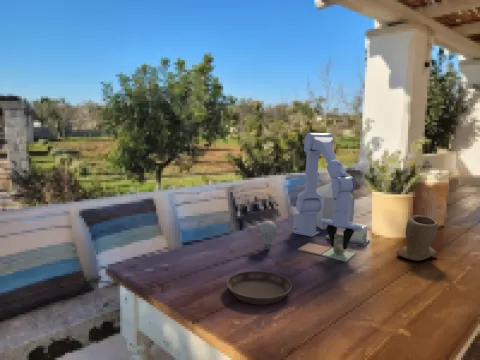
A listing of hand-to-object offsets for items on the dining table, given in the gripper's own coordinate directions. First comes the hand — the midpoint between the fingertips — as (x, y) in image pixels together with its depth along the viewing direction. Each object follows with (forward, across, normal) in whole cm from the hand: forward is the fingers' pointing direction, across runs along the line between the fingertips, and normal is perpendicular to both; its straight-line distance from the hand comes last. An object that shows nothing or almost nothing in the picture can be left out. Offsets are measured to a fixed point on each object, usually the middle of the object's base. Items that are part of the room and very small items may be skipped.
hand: (339, 247), depth 129 cm
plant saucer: (+3, -6, -42) cm, 43 cm away
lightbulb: (+3, -23, -12) cm, 26 cm away
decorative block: (+3, -20, +38) cm, 44 cm away
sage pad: (+3, 0, 0) cm, 3 cm away
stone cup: (+3, +23, +16) cm, 28 cm away
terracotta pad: (+3, -10, 0) cm, 10 cm away
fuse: (+2, 0, 0) cm, 2 cm away
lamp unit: (+3, -4, +19) cm, 20 cm away
